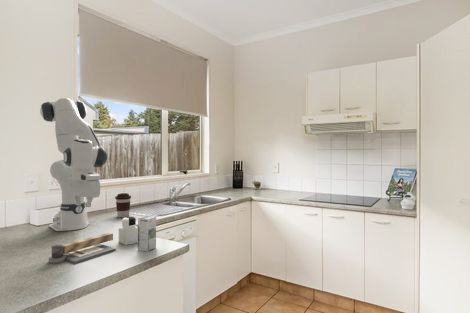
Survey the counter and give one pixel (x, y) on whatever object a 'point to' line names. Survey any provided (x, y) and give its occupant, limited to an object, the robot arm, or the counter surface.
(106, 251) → the label board
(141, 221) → the syrup box
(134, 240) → the medicine bottle
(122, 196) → the coffee cup
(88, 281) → the counter surface
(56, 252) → the swing arm
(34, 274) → the counter surface
